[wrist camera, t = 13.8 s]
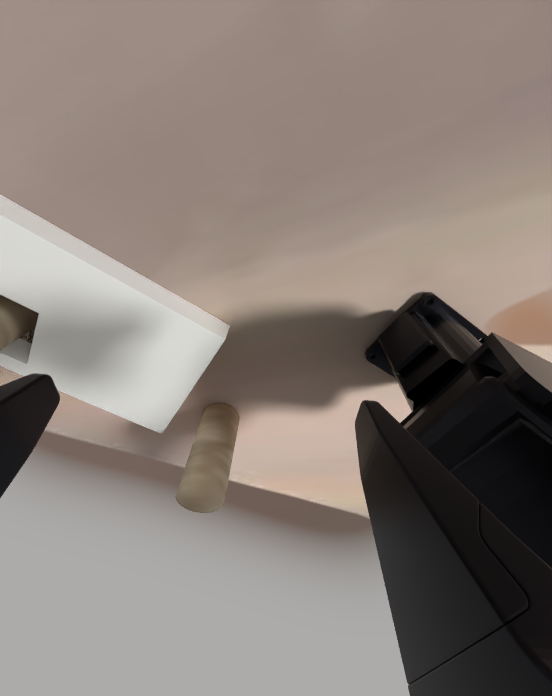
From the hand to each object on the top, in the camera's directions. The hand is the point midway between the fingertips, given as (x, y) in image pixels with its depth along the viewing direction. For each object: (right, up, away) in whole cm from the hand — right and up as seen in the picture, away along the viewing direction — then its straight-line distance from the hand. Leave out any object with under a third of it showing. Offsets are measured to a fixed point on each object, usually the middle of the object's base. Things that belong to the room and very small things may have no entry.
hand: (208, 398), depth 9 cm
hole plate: (-12, +3, +14) cm, 19 cm away
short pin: (-3, -5, +19) cm, 20 cm away
